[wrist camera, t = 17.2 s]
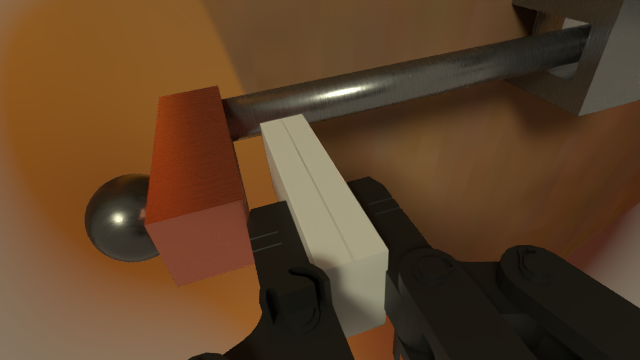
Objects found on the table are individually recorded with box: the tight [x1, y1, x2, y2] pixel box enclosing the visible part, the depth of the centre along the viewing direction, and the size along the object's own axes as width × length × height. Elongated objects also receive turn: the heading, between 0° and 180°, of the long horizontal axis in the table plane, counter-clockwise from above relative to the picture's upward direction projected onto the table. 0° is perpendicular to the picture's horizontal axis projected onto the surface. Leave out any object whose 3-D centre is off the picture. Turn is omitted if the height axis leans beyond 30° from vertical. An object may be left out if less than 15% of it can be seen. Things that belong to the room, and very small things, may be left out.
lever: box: [84, 24, 592, 287], centre depth 14 cm, size 3×24×8 cm, turn 96°
